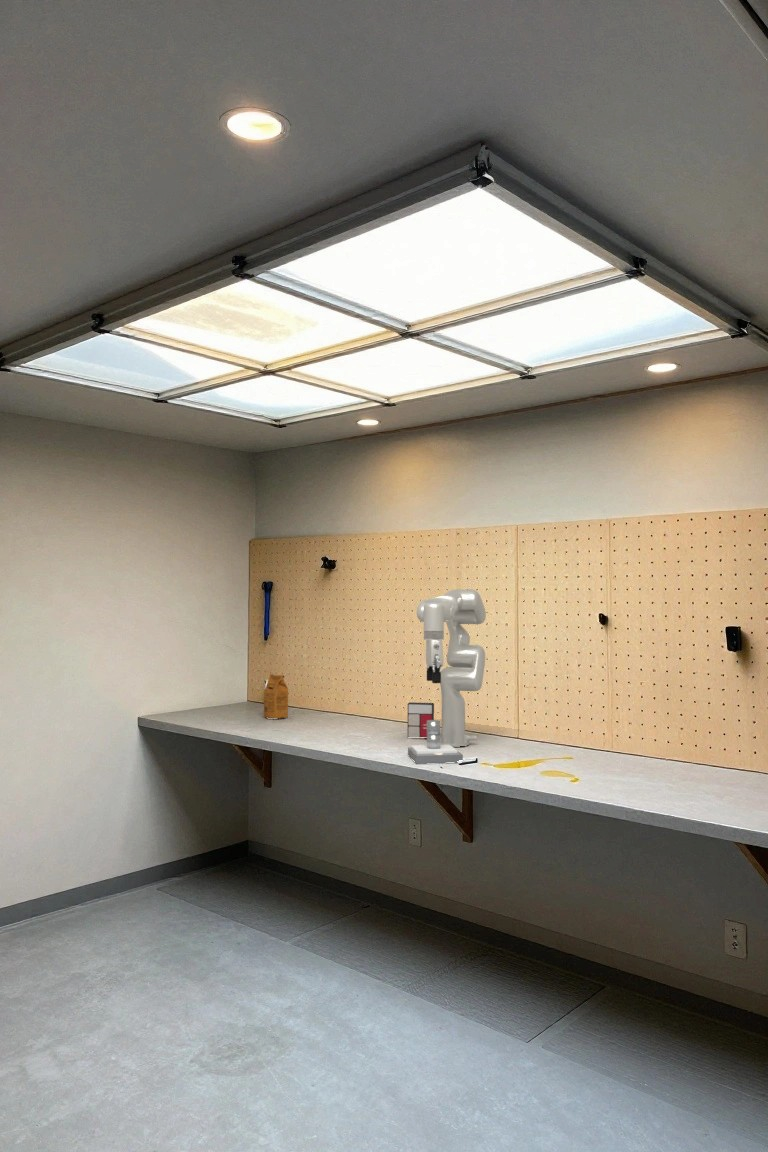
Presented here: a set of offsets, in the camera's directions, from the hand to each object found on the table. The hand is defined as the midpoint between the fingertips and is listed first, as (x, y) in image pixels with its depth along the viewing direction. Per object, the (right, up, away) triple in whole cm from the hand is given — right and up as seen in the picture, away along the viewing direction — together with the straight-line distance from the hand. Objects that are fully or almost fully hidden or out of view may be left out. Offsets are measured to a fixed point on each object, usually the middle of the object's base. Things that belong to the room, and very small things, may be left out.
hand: (433, 681), depth 307 cm
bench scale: (0, -28, -3) cm, 28 cm away
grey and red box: (-3, -30, +44) cm, 53 cm away
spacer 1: (0, -20, 0) cm, 20 cm away
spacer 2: (0, -25, -1) cm, 25 cm away
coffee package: (-73, -32, +105) cm, 132 cm away
